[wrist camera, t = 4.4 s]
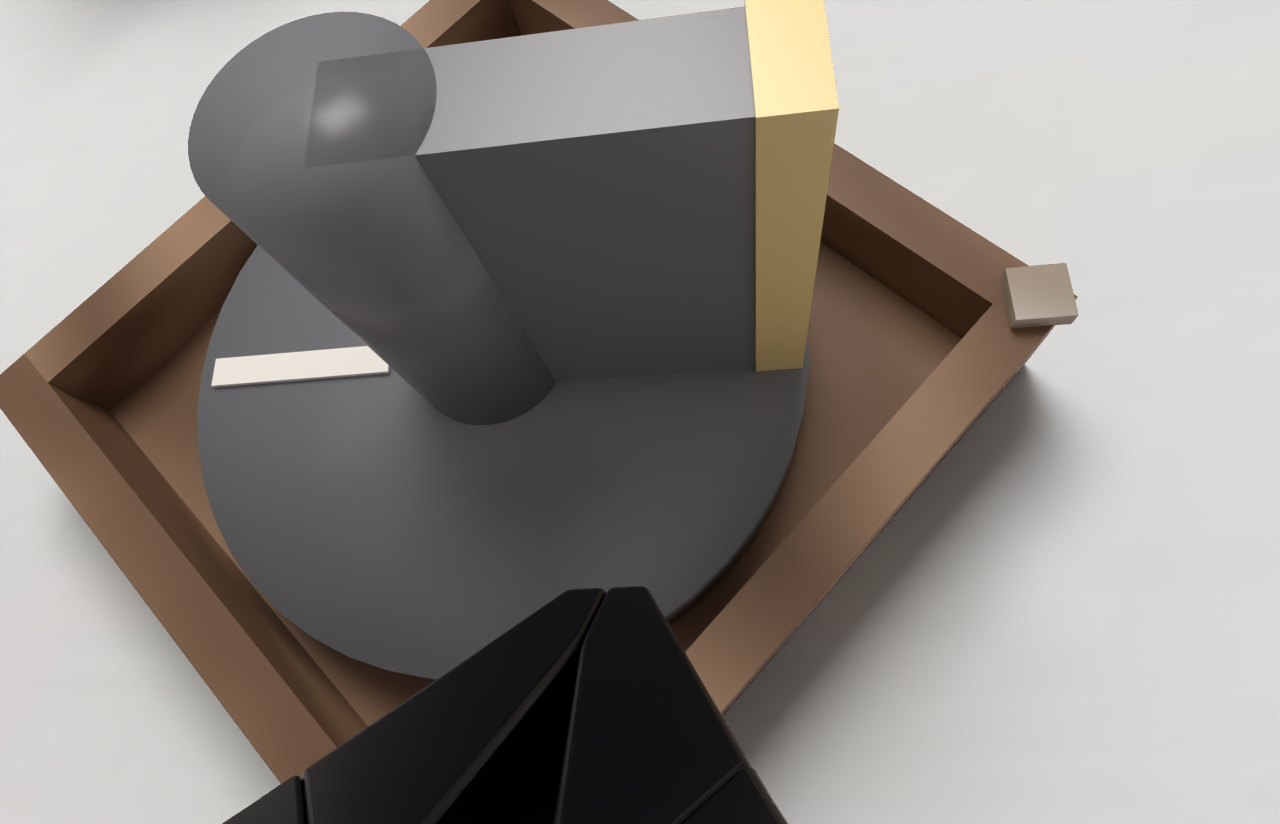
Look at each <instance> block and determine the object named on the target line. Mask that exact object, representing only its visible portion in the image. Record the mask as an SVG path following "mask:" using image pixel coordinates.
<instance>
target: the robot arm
mask: <svg viewBox="0 0 1280 824" xmlns="http://www.w3.org/2000/svg"><path fill="white" fill-rule="evenodd" d="M222 824H788V823H787V821H786V819H785V818H784V816H783V815H782V813H781V812H780V810H779V809H778V807H777V806H776V804H775V803H774V801H773V799H772V798H771V796H770V794H769V793H768V791H767V789H766V787H765V786H764V784H763V782H762V781H761V779H760V777H759V776H758V774H757V772H756V771H755V770H754V769H753V768H752V767H751V764H750V762H749V761H748V759H747V757H746V755H745V754H744V752H743V750H742V749H741V747H740V745H739V743H738V742H737V740H736V738H735V737H734V735H733V733H732V731H731V730H730V728H729V726H728V725H727V723H726V721H725V719H724V718H723V716H722V714H721V713H720V711H719V709H718V707H717V706H716V704H715V702H714V701H713V699H712V697H711V695H710V694H709V692H708V690H707V689H706V687H705V685H704V684H703V682H702V680H701V678H700V677H699V675H698V673H697V672H696V670H695V668H694V666H693V665H692V663H691V661H690V660H689V658H688V656H687V654H686V653H685V651H684V649H683V648H682V646H681V644H680V642H679V641H678V639H677V637H676V636H675V634H674V632H673V630H672V629H671V627H670V625H669V624H668V622H667V620H666V618H665V617H664V615H663V613H662V612H661V610H660V608H659V606H658V605H657V603H656V601H655V600H654V598H653V596H652V594H651V593H650V591H649V590H648V589H647V588H646V587H644V586H632V587H613V588H611V589H609V590H608V591H607V593H606V591H605V590H603V589H601V588H589V589H571V590H567V591H565V592H564V593H562V594H561V595H559V596H558V597H556V598H555V599H553V600H552V601H551V602H549V603H548V604H546V605H545V606H543V607H542V608H540V609H539V610H537V611H536V612H534V613H533V614H532V615H530V616H529V617H527V618H526V619H524V620H523V621H521V622H520V623H518V624H517V625H516V626H514V627H513V628H511V629H510V630H508V631H507V632H505V633H504V634H502V635H501V636H499V637H498V638H497V639H495V640H494V641H492V642H491V643H489V644H488V645H486V646H485V647H483V648H482V649H481V650H479V651H478V652H476V653H475V654H473V655H472V656H470V657H469V658H467V659H466V660H464V661H463V662H462V663H460V664H459V665H457V666H456V667H454V668H453V669H451V670H450V671H448V672H447V673H445V674H444V675H443V676H441V677H440V678H438V679H437V680H435V681H434V682H432V683H431V684H429V685H428V686H426V687H425V688H424V689H422V690H421V691H419V692H418V693H416V694H415V695H413V696H412V697H410V698H409V699H407V700H406V701H405V702H403V703H402V704H400V705H399V706H397V707H396V708H394V709H393V710H391V711H390V712H388V713H387V714H386V715H384V716H383V717H381V718H380V719H378V720H377V721H375V722H374V723H372V724H371V725H369V726H368V727H367V728H365V729H364V730H362V731H361V732H359V733H358V734H356V735H355V736H353V737H352V738H350V739H349V740H348V741H346V742H345V743H343V744H342V745H340V746H339V747H337V748H336V749H334V750H333V751H331V752H330V753H329V754H327V755H326V756H324V757H323V758H321V759H320V760H318V761H317V762H315V763H314V764H312V765H311V766H310V767H308V768H307V769H305V770H304V771H303V773H302V779H301V777H300V776H292V777H291V778H289V779H288V780H286V781H285V782H283V783H282V784H281V785H279V786H278V787H276V788H275V789H273V790H272V791H270V792H269V793H268V794H266V795H265V796H263V797H262V798H260V799H259V800H257V801H256V802H254V803H253V804H251V805H250V806H248V807H247V808H245V809H244V810H242V811H241V812H239V813H238V814H236V815H235V816H233V817H232V818H230V819H229V820H227V821H226V822H224V823H222Z"/></svg>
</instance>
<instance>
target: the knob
mask: <svg viewBox="0 0 1280 824" xmlns="http://www.w3.org/2000/svg"><path fill="white" fill-rule="evenodd" d="M838 110H839V106H838V99H837V92H836V85H835V77H834V70H833V63H832V56H831V49H830V41H829V34H828V27H827V20H826V13H825V5H824V0H745V7H738V8H731V9H723V10H715V11H708V12H700V13H692V14H684V15H677V16H669V17H661V18H654V19H646V20H638V21H631V22H623V23H615V24H607V25H600V26H592V27H584V28H577V29H569V30H561V31H553V32H546V33H538V34H530V35H523V36H515V37H507V38H500V39H492V40H484V41H476V42H469V43H461V44H453V45H446V46H438V47H430V48H423V46H422V45H421V44H420V43H419V42H418V40H417V39H416V38H415V37H414V36H413V35H411V34H410V33H409V32H408V31H407V30H405V29H404V28H402V27H400V26H399V25H397V24H396V23H393V22H391V21H389V20H386V19H384V18H381V17H377V16H374V15H370V14H364V13H357V12H334V13H324V14H319V15H313V16H309V17H305V18H302V19H299V20H295V21H292V22H290V23H287V24H285V25H282V26H280V27H278V28H276V29H274V30H272V31H270V32H268V33H266V34H264V35H263V36H261V37H260V38H258V39H256V40H255V41H253V42H252V43H250V44H249V45H248V46H246V47H245V48H244V49H242V50H241V51H240V52H238V53H237V54H236V55H235V56H234V57H233V58H232V59H231V60H230V61H229V62H228V63H227V64H226V65H225V66H224V67H223V68H222V69H221V70H220V71H219V73H218V74H217V75H216V76H215V77H214V79H213V80H212V82H211V83H210V84H209V86H208V87H207V89H206V91H205V92H204V94H203V96H202V98H201V99H200V101H199V104H198V106H197V108H196V111H195V113H194V116H193V119H192V123H191V127H190V132H189V140H188V155H189V161H190V166H191V170H192V173H193V175H194V178H195V181H196V182H197V184H198V186H199V187H200V189H201V191H202V192H203V193H204V194H205V196H206V197H207V198H208V199H209V200H210V201H211V202H212V203H213V204H214V205H215V206H216V207H217V208H218V209H219V210H220V211H222V212H223V213H224V214H225V215H226V216H227V217H228V218H229V219H230V220H231V221H232V222H233V223H235V224H236V225H237V226H238V227H239V228H240V229H241V230H242V231H243V232H244V233H245V234H247V235H248V236H249V237H250V238H251V239H252V240H253V241H254V242H255V243H256V244H257V247H256V248H255V250H254V251H253V253H252V254H251V256H250V257H249V259H248V260H247V262H246V263H245V265H244V267H243V268H242V270H241V271H240V273H239V274H238V276H237V278H236V280H235V282H234V284H233V286H232V288H231V290H230V292H229V294H228V296H227V298H226V300H225V302H224V304H223V306H222V309H221V311H220V314H219V317H218V319H217V322H216V325H215V328H214V330H213V333H212V336H211V338H210V342H209V346H208V350H207V354H206V358H205V362H204V366H203V371H202V375H201V383H200V392H199V401H198V410H197V422H198V451H199V457H200V464H201V470H202V476H203V482H204V487H205V490H206V493H207V496H208V499H209V503H210V506H211V509H212V512H213V515H214V519H215V521H216V523H217V525H218V527H219V529H220V531H221V533H222V535H223V538H224V540H225V542H226V544H227V546H228V548H229V550H230V552H231V554H232V555H233V557H234V558H235V560H236V561H237V563H238V564H239V565H240V567H241V568H242V570H243V571H244V573H245V574H246V575H247V577H248V578H249V580H250V581H251V583H252V584H253V585H254V586H255V587H256V589H257V590H258V591H259V592H260V593H261V594H262V595H263V596H264V597H265V598H266V599H267V600H268V601H269V602H270V603H271V604H272V605H273V606H274V607H275V608H276V609H277V610H278V611H279V612H280V613H281V614H282V615H283V616H285V617H286V618H287V619H289V620H290V621H291V622H292V623H294V624H295V625H296V626H298V627H299V628H300V629H302V630H303V631H304V632H306V633H307V634H308V635H310V636H311V637H312V638H314V639H316V640H318V641H320V642H322V643H324V644H325V645H327V646H329V647H331V648H333V649H335V650H337V651H339V652H340V653H342V654H344V655H346V656H348V657H350V658H353V659H356V660H359V661H362V662H365V663H368V664H371V665H373V666H376V667H379V668H382V669H385V670H388V671H392V672H398V673H403V674H408V675H414V676H419V677H424V678H430V679H438V678H440V677H441V676H443V675H444V674H445V673H447V672H448V671H450V670H451V669H453V668H454V667H456V666H457V665H459V664H460V663H462V662H463V661H464V660H466V659H467V658H469V657H470V656H472V655H473V654H475V653H476V652H478V651H479V650H481V649H482V648H483V647H485V646H486V645H488V644H489V643H491V642H492V641H494V640H495V639H497V638H498V637H499V636H501V635H502V634H504V633H505V632H507V631H508V630H510V629H511V628H513V627H514V626H516V625H517V624H518V623H520V622H521V621H523V620H524V619H526V618H527V617H529V616H530V615H532V614H533V613H534V612H536V611H537V610H539V609H540V608H542V607H543V606H545V605H546V604H548V603H549V602H551V601H552V600H553V599H555V598H556V597H558V596H559V595H561V594H562V593H564V592H565V591H567V590H571V589H589V588H601V589H603V590H605V591H606V593H607V591H608V590H609V589H611V588H613V587H632V586H644V587H646V588H647V589H648V590H649V591H650V593H651V594H652V596H653V598H654V600H655V601H656V603H657V605H658V606H659V608H660V610H661V612H662V613H663V615H664V617H665V618H666V620H667V622H668V624H669V625H670V624H671V623H673V622H674V621H675V620H677V619H678V618H679V617H681V616H682V615H683V614H685V613H686V612H687V611H689V610H690V609H691V608H693V607H694V606H695V605H697V604H698V603H699V602H700V601H701V600H702V599H703V598H704V597H705V596H706V595H707V594H708V593H709V592H710V591H711V590H712V589H713V588H714V587H715V586H716V585H717V584H718V583H719V582H720V581H721V580H722V579H723V578H724V577H725V576H726V575H727V574H728V573H729V572H730V571H731V570H732V568H733V567H734V566H735V564H736V563H737V562H738V561H739V559H740V558H741V557H742V555H743V554H744V553H745V551H746V550H747V549H748V548H749V546H750V545H751V544H752V542H753V541H754V540H755V538H756V537H757V535H758V533H759V531H760V530H761V528H762V526H763V524H764V523H765V521H766V519H767V518H768V516H769V514H770V512H771V511H772V509H773V507H774V506H775V504H776V501H777V499H778V497H779V494H780V492H781V489H782V487H783V484H784V482H785V480H786V477H787V475H788V472H789V470H790V467H791V464H792V460H793V456H794V453H795V449H796V445H797V441H798V437H799V433H800V429H801V424H802V417H803V411H804V405H805V396H806V387H807V378H808V369H809V353H808V326H809V319H810V312H811V305H812V297H813V290H814V283H815V276H816V269H817V261H818V254H819V247H820V240H821V233H822V225H823V218H824V211H825V204H826V197H827V190H828V182H829V175H830V168H831V161H832V154H833V146H834V139H835V132H836V125H837V118H838Z"/></svg>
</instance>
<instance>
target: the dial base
mask: <svg viewBox="0 0 1280 824" xmlns="http://www.w3.org/2000/svg"><path fill="white" fill-rule="evenodd" d="M631 21H638V19H636V18H635V17H633V16H631V15H630V14H628V13H627V12H625V11H624V10H622V9H620V8H619V7H617V6H616V5H614V4H612V3H611V2H609V1H608V0H430V1H429V2H428V3H426V4H425V5H424V6H423V7H422V8H421V9H420V10H418V11H417V12H416V13H415V14H414V15H413V16H411V17H410V18H409V19H408V20H407V21H406V22H405V23H403V24H402V25H401V26H400V27H402V28H404V29H405V30H407V31H408V32H409V33H410V34H411V35H413V36H414V37H415V38H416V39H417V40H418V42H419V43H420V44H421V45H422V46H423V48H430V47H438V46H446V45H453V44H461V43H469V42H476V41H484V40H492V39H500V38H507V37H515V36H523V35H530V34H538V33H546V32H553V31H561V30H569V29H577V28H584V27H592V26H600V25H607V24H615V23H623V22H631ZM256 247H257V244H256V243H255V242H254V241H253V240H252V239H251V238H250V237H249V236H248V235H247V234H245V233H244V232H243V231H242V230H241V229H240V228H239V227H238V226H237V225H236V224H235V223H233V222H232V221H231V220H230V219H229V218H228V217H227V216H226V215H225V214H224V213H223V212H222V211H220V210H219V209H218V208H217V207H216V206H215V205H214V204H213V203H212V202H211V201H210V200H209V199H208V198H207V197H206V196H205V197H204V198H203V199H201V200H200V201H199V202H198V203H197V204H196V205H195V206H193V207H192V208H191V209H190V210H189V211H188V212H187V213H185V214H184V215H183V216H182V217H181V218H180V219H178V220H177V221H176V222H175V223H174V224H173V225H172V226H170V227H169V228H168V229H167V230H166V231H165V232H164V233H162V234H161V235H160V236H159V237H158V238H157V239H156V240H154V241H153V242H152V243H151V244H150V245H149V246H148V247H146V248H145V249H144V250H143V251H142V252H141V253H139V254H138V255H137V256H136V257H135V258H134V259H133V260H131V261H130V262H129V263H128V264H127V265H126V266H125V267H123V268H122V269H121V270H120V271H119V272H118V273H117V274H115V275H114V276H113V277H112V278H111V279H110V280H108V281H107V282H106V283H105V284H104V285H103V286H102V287H100V288H99V289H98V290H97V291H96V292H95V293H94V294H92V295H91V296H90V297H89V298H88V299H87V300H86V301H84V302H83V303H82V304H81V305H80V306H79V307H77V308H76V309H75V310H74V311H73V312H72V313H71V314H69V315H68V316H67V317H66V318H65V319H64V320H63V321H61V322H60V323H59V324H58V325H57V326H56V327H55V328H53V329H52V330H51V331H50V332H49V333H48V334H46V335H45V336H44V337H43V338H42V339H41V340H40V341H38V342H37V343H36V344H35V345H34V346H33V347H32V348H30V349H29V350H28V351H27V352H26V353H25V354H24V355H22V356H21V357H20V358H19V359H18V360H17V361H16V362H14V363H13V364H12V365H11V366H10V367H9V368H7V369H6V370H5V371H4V372H3V373H2V374H1V375H0V408H1V410H2V411H3V412H4V414H5V415H6V416H7V418H8V419H9V420H10V422H11V423H12V424H13V426H14V427H15V428H16V430H17V431H18V432H19V434H20V435H21V436H22V438H23V439H24V440H25V442H26V443H27V444H28V446H29V447H30V448H31V450H32V451H33V453H34V454H35V455H36V457H37V458H38V459H39V461H40V462H41V463H42V465H43V466H44V467H45V469H46V470H47V471H48V473H49V474H50V475H51V477H52V478H53V479H54V481H55V482H56V483H57V485H58V486H59V487H60V489H61V490H62V491H63V493H64V494H65V495H66V497H67V498H68V499H69V501H70V502H71V503H72V505H73V506H74V507H75V509H76V510H77V511H78V513H79V514H80V515H81V517H82V518H83V519H84V521H85V522H86V523H87V525H88V526H89V527H90V529H91V530H92V531H93V533H94V534H95V535H96V537H97V538H98V539H99V541H100V542H101V543H102V545H103V546H104V547H105V549H106V550H107V551H108V553H109V554H110V555H111V557H112V558H113V559H114V561H115V562H116V563H117V565H118V566H119V567H120V569H121V570H122V571H123V573H124V574H125V575H126V577H127V578H128V580H129V581H130V582H131V584H132V585H133V586H134V588H135V589H136V590H137V592H138V593H139V594H140V596H141V597H142V598H143V600H144V601H145V602H146V604H147V605H148V606H149V608H150V609H151V610H152V612H153V613H154V614H155V616H156V617H157V618H158V620H159V621H160V622H161V624H162V625H163V626H164V628H165V629H166V630H167V632H168V633H169V634H170V636H171V637H172V638H173V640H174V641H175V642H176V644H177V645H178V646H179V648H180V649H181V650H182V652H183V653H184V654H185V656H186V657H187V658H188V660H189V661H190V662H191V664H192V665H193V666H194V668H195V669H196V670H197V672H198V673H199V674H200V676H201V677H202V678H203V680H204V681H205V682H206V684H207V685H208V686H209V688H210V689H211V690H212V692H213V693H214V694H215V696H216V697H217V698H218V700H219V701H220V703H221V704H222V705H223V707H224V708H225V709H226V711H227V712H228V713H229V715H230V716H231V717H232V719H233V720H234V721H235V723H236V724H237V725H238V727H239V728H240V729H241V731H242V732H243V733H244V735H245V736H246V737H247V739H248V740H249V741H250V743H251V744H252V745H253V747H254V748H255V749H256V751H257V752H258V753H259V755H260V756H261V757H262V759H263V760H264V761H265V763H266V764H267V765H268V767H269V768H270V769H271V771H272V772H273V773H274V775H275V776H276V777H277V779H278V780H279V781H280V783H281V784H282V783H283V782H285V781H286V780H288V779H289V778H291V777H292V776H300V777H301V779H302V773H303V771H304V770H305V769H307V768H308V767H310V766H311V765H312V764H314V763H315V762H317V761H318V760H320V759H321V758H323V757H324V756H326V755H327V754H329V753H330V752H331V751H333V750H334V749H336V748H337V747H339V746H340V745H342V744H343V743H345V742H346V741H348V740H349V739H350V738H352V737H353V736H355V735H356V734H358V733H359V732H361V731H362V730H364V729H365V728H367V727H368V726H369V725H371V724H372V723H374V722H375V721H377V720H378V719H380V718H381V717H383V716H384V715H386V714H387V713H388V712H390V711H391V710H393V709H394V708H396V707H397V706H399V705H400V704H402V703H403V702H405V701H406V700H407V699H409V698H410V697H412V696H413V695H415V694H416V693H418V692H419V691H421V690H422V689H424V688H425V687H426V686H428V685H429V684H431V683H432V682H434V681H435V680H437V679H430V678H424V677H419V676H414V675H408V674H403V673H398V672H392V671H388V670H385V669H382V668H379V667H376V666H373V665H371V664H368V663H365V662H362V661H359V660H356V659H353V658H350V657H348V656H346V655H344V654H342V653H340V652H339V651H337V650H335V649H333V648H331V647H329V646H327V645H325V644H324V643H322V642H320V641H318V640H316V639H314V638H312V637H311V636H310V635H308V634H307V633H306V632H304V631H303V630H302V629H300V628H299V627H298V626H296V625H295V624H294V623H292V622H291V621H290V620H289V619H287V618H286V617H285V616H283V615H282V614H281V613H280V612H279V611H278V610H277V609H276V608H275V607H274V606H273V605H272V604H271V603H270V602H269V601H268V600H267V599H266V598H265V597H264V596H263V595H262V594H261V593H260V592H259V591H258V590H257V589H256V587H255V586H254V585H253V584H252V583H251V581H250V580H249V578H248V577H247V575H246V574H245V573H244V571H243V570H242V568H241V567H240V565H239V564H238V563H237V561H236V560H235V558H234V557H233V555H232V554H231V552H230V550H229V548H228V546H227V544H226V542H225V540H224V538H223V535H222V533H221V531H220V529H219V527H218V525H217V523H216V521H215V519H214V515H213V512H212V509H211V506H210V503H209V499H208V496H207V493H206V490H205V487H204V482H203V476H202V470H201V464H200V457H199V451H198V422H197V410H198V401H199V392H200V383H201V375H202V371H203V366H204V362H205V358H206V354H207V350H208V346H209V342H210V338H211V336H212V333H213V330H214V328H215V325H216V322H217V319H218V317H219V314H220V311H221V309H222V306H223V304H224V302H225V300H226V298H227V296H228V294H229V292H230V290H231V288H232V286H233V284H234V282H235V280H236V278H237V276H238V274H239V273H240V271H241V270H242V268H243V267H244V265H245V263H246V262H247V260H248V259H249V257H250V256H251V254H252V253H253V251H254V250H255V248H256ZM1076 298H1077V296H1076V295H1074V294H1073V290H1072V286H1071V282H1070V277H1069V273H1068V269H1067V265H1066V263H1060V264H1049V265H1037V266H1028V265H1026V264H1025V263H1023V262H1022V261H1020V260H1018V259H1017V258H1015V257H1014V256H1012V255H1011V254H1009V253H1007V252H1006V251H1004V250H1003V249H1001V248H999V247H998V246H996V245H995V244H993V243H992V242H990V241H988V240H987V239H985V238H984V237H982V236H980V235H979V234H977V233H976V232H974V231H972V230H971V229H969V228H968V227H966V226H965V225H963V224H961V223H960V222H958V221H957V220H955V219H953V218H952V217H950V216H949V215H947V214H946V213H944V212H942V211H941V210H939V209H938V208H936V207H934V206H933V205H931V204H930V203H928V202H926V201H925V200H923V199H922V198H920V197H919V196H917V195H915V194H914V193H912V192H911V191H909V190H907V189H906V188H904V187H903V186H901V185H900V184H898V183H896V182H895V181H893V180H892V179H890V178H888V177H887V176H885V175H884V174H882V173H880V172H879V171H877V170H876V169H874V168H873V167H871V166H869V165H868V164H866V163H865V162H863V161H861V160H860V159H858V158H857V157H855V156H854V155H852V154H850V153H849V152H847V151H846V150H844V149H842V148H841V147H839V146H838V145H836V144H834V146H833V154H832V161H831V168H830V175H829V182H828V190H827V197H826V204H825V211H824V218H823V225H822V233H821V240H820V247H819V254H818V261H817V269H816V276H815V283H814V290H813V297H812V305H811V312H810V319H809V326H808V353H809V369H808V378H807V387H806V396H805V405H804V411H803V417H802V424H801V429H800V433H799V437H798V441H797V445H796V449H795V453H794V456H793V460H792V464H791V467H790V470H789V472H788V475H787V477H786V480H785V482H784V484H783V487H782V489H781V492H780V494H779V497H778V499H777V501H776V504H775V506H774V507H773V509H772V511H771V512H770V514H769V516H768V518H767V519H766V521H765V523H764V524H763V526H762V528H761V530H760V531H759V533H758V535H757V537H756V538H755V540H754V541H753V542H752V544H751V545H750V546H749V548H748V549H747V550H746V551H745V553H744V554H743V555H742V557H741V558H740V559H739V561H738V562H737V563H736V564H735V566H734V567H733V568H732V570H731V571H730V572H729V573H728V574H727V575H726V576H725V577H724V578H723V579H722V580H721V581H720V582H719V583H718V584H717V585H716V586H715V587H714V588H713V589H712V590H711V591H710V592H709V593H708V594H707V595H706V596H705V597H704V598H703V599H702V600H701V601H700V602H699V603H698V604H697V605H695V606H694V607H693V608H691V609H690V610H689V611H687V612H686V613H685V614H683V615H682V616H681V617H679V618H678V619H677V620H675V621H674V622H673V623H671V624H670V627H671V629H672V630H673V632H674V634H675V636H676V637H677V639H678V641H679V642H680V644H681V646H682V648H683V649H684V651H685V653H686V654H687V656H688V658H689V660H690V661H691V663H692V665H693V666H694V668H695V670H696V672H697V673H698V675H699V677H700V678H701V680H702V682H703V684H704V685H705V687H706V689H707V690H708V692H709V694H710V695H711V697H712V699H713V701H714V702H715V704H716V706H717V707H718V709H719V711H720V713H721V714H722V716H723V715H724V713H725V712H726V711H727V710H728V709H729V708H730V706H731V705H732V704H733V703H734V702H735V701H736V699H737V698H738V697H739V696H740V695H741V694H742V692H743V691H744V690H745V689H746V688H747V687H748V685H749V684H750V683H751V682H752V681H753V680H754V678H755V677H756V676H757V675H758V674H759V673H760V671H761V670H762V669H763V668H764V667H765V666H766V664H767V663H768V662H769V661H770V660H771V659H772V657H773V656H774V655H775V654H776V653H777V652H778V650H779V649H780V648H781V647H782V646H783V645H784V643H785V642H786V641H787V640H788V639H789V638H790V637H791V635H792V634H793V633H794V632H795V631H796V630H797V628H798V627H799V626H800V625H801V624H802V623H803V621H804V620H805V619H806V618H807V617H808V616H809V614H810V613H811V612H812V611H813V610H814V609H815V607H816V606H817V605H818V604H819V603H820V602H821V600H822V599H823V598H824V597H825V596H826V595H827V593H828V592H829V591H830V590H831V589H832V588H833V586H834V585H835V584H836V583H837V582H838V581H839V579H840V578H841V577H842V576H843V575H844V574H845V572H846V571H847V570H848V569H849V568H850V567H851V565H852V564H853V563H854V562H855V561H856V560H857V558H858V557H859V556H860V555H861V554H862V553H863V552H864V550H865V549H866V548H867V547H868V546H869V545H870V543H871V542H872V541H873V540H874V539H875V538H876V536H877V535H878V534H879V533H880V532H881V531H882V529H883V528H884V527H885V526H886V525H887V524H888V522H889V521H890V520H891V519H892V518H893V517H894V515H895V514H896V513H897V512H898V511H899V510H900V508H901V507H902V506H903V505H904V504H905V503H906V501H907V500H908V499H909V498H910V497H911V496H912V494H913V493H914V492H915V491H916V490H917V489H918V487H919V486H920V485H921V484H922V483H923V482H924V480H925V479H926V478H927V477H928V476H929V475H930V473H931V472H932V471H933V470H934V469H935V468H936V467H937V465H938V464H939V463H940V462H941V461H942V460H943V458H944V457H945V456H946V455H947V454H948V453H949V451H950V450H951V449H952V448H953V447H954V446H955V444H956V443H957V442H958V441H959V440H960V439H961V437H962V436H963V435H964V434H965V433H966V432H967V430H968V429H969V428H970V427H971V426H972V425H973V423H974V422H975V421H976V420H977V419H978V418H979V416H980V415H981V414H982V413H983V412H984V411H985V409H986V408H987V407H988V406H989V405H990V404H991V402H992V401H993V400H994V399H995V398H996V397H997V395H998V394H999V393H1000V392H1001V391H1002V390H1003V389H1004V387H1005V386H1006V385H1007V384H1008V383H1009V382H1010V380H1011V379H1012V378H1013V377H1014V376H1015V375H1016V373H1017V372H1018V371H1019V370H1020V369H1021V368H1022V366H1023V365H1024V364H1025V363H1026V362H1027V360H1028V359H1029V358H1030V357H1031V355H1032V354H1033V353H1034V351H1035V350H1036V349H1037V348H1038V346H1039V345H1040V344H1041V343H1042V341H1043V340H1044V339H1045V338H1046V336H1047V335H1048V334H1049V333H1050V331H1051V330H1052V329H1053V327H1054V326H1055V325H1062V324H1071V323H1072V322H1073V321H1074V320H1075V319H1076V317H1077V316H1078V311H1077V307H1076V302H1075V300H1076Z"/></svg>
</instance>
